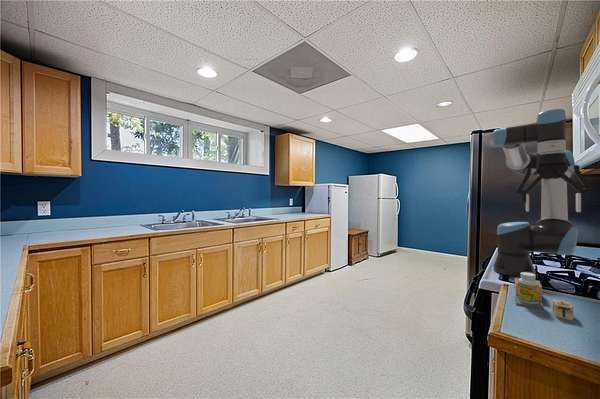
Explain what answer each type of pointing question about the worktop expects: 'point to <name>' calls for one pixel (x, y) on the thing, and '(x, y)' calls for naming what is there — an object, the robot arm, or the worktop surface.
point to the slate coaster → (539, 305)
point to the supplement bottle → (528, 288)
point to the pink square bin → (517, 288)
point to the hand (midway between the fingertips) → (551, 211)
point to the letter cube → (563, 309)
